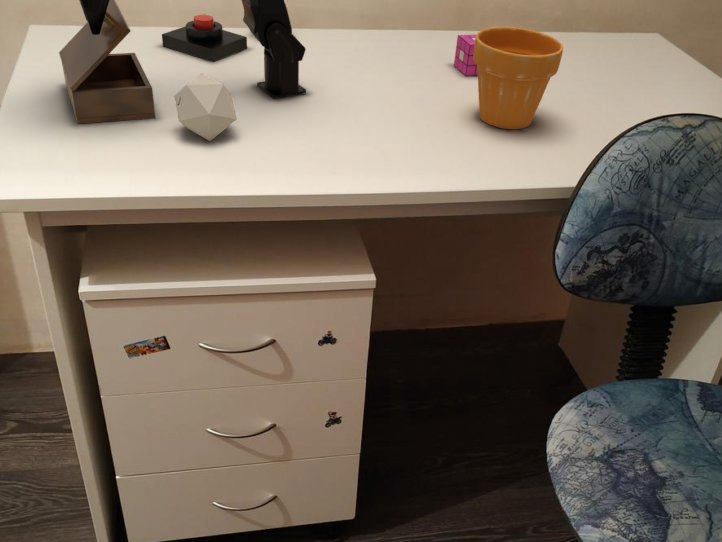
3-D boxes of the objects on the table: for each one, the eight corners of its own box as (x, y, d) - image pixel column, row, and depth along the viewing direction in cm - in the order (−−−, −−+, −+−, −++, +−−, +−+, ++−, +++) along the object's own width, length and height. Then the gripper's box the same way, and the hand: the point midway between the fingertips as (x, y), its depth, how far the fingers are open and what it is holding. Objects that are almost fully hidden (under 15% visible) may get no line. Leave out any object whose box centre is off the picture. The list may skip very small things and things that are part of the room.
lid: (114, -1, 127) (87, -28, 123) (131, 31, 116) (102, 3, 113) (61, 55, 129) (34, 30, 125) (73, 91, 119) (43, 66, 115)
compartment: (138, 81, 136) (134, 52, 133) (155, 118, 126) (152, 87, 123) (66, 86, 132) (60, 56, 129) (77, 124, 122) (72, 92, 119)
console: (247, 48, 153) (246, 26, 150) (213, 62, 146) (211, 39, 143) (198, 34, 157) (196, 12, 154) (162, 46, 150) (160, 23, 147)
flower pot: (489, 96, 145) (502, 20, 136) (560, 119, 139) (578, 42, 131) (448, 118, 135) (459, 38, 127) (522, 144, 130) (538, 62, 121)
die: (195, 120, 128) (157, 78, 119) (243, 95, 126) (209, 50, 117) (202, 160, 124) (163, 119, 115) (252, 135, 122) (217, 92, 113)
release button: (218, 27, 150) (217, 17, 149) (205, 32, 147) (204, 21, 146) (202, 23, 151) (202, 13, 150) (190, 27, 149) (189, 17, 147)
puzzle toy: (492, 74, 153) (497, 44, 150) (465, 76, 152) (469, 45, 148) (479, 64, 157) (484, 34, 154) (453, 65, 156) (457, 34, 152)
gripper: (7, -106, 115) (30, 10, 125) (17, -75, 102) (42, 51, 112) (89, -105, 118) (105, 8, 129) (108, -75, 106) (124, 47, 116)
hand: (93, 27), depth 121 cm, fingers open, 6 cm apart
